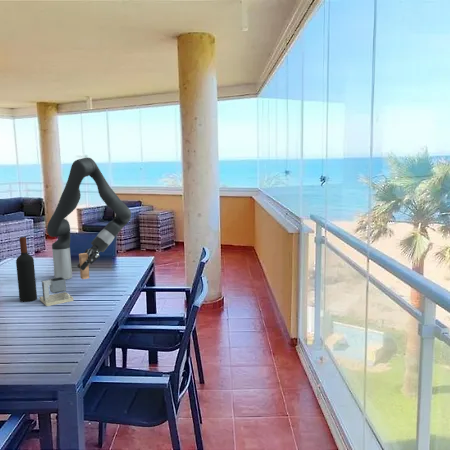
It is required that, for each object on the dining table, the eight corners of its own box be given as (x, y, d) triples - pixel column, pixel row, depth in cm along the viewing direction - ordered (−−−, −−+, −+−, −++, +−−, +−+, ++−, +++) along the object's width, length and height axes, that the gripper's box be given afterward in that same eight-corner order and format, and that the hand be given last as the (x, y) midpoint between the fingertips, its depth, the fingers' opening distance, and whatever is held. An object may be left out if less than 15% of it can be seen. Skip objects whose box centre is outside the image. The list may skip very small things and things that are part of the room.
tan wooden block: (80, 278, 209) (78, 253, 207) (87, 276, 211) (85, 252, 209) (82, 279, 206) (81, 255, 204) (89, 278, 208) (87, 254, 206)
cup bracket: (39, 300, 202) (37, 279, 201) (65, 294, 209) (64, 274, 208) (46, 306, 193) (44, 284, 191) (73, 300, 200) (71, 279, 198)
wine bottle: (18, 303, 198) (12, 239, 194) (21, 298, 206) (15, 236, 201) (35, 301, 200) (30, 237, 196) (38, 296, 208) (32, 235, 203)
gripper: (92, 233, 215) (69, 261, 210) (103, 237, 204) (79, 266, 199) (103, 243, 219) (80, 270, 214) (114, 247, 208) (91, 275, 203)
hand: (80, 268), depth 206 cm, fingers closed on tan wooden block, 3 cm apart
